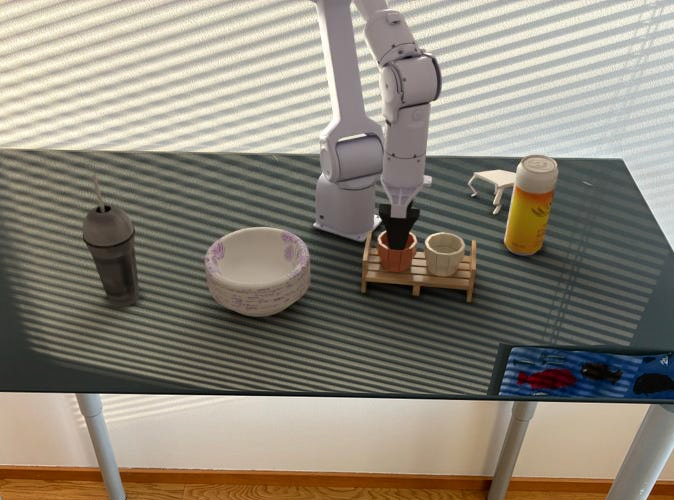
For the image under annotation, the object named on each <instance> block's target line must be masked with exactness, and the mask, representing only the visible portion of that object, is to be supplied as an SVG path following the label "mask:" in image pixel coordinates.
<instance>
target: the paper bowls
mask: <svg viewBox="0 0 674 500" xmlns="http://www.w3.org/2000/svg"><path fill="white" fill-rule="evenodd" d="M203 264H204V271H205V277H206V283H207V287H208V291H209V294H210V295H211V297H212V299H214V302H216V303H217V304H219V305H220V306H222V307H224V308H225V309H228V310H231V311H233V312H236V313H239V314H240V315H244V316H246V317H253V318H254V317H255V318H260V317H261V318H262V317H269V316H272V315H276V314H279V313H281V312H282V311H284V310H286V309H287V308H289V306H291V305H292V304H294V303H296V302H297V301H298V300H299V299H301V298H302V297H303V296H304V295H305V293H306V292H307V291H308V289H309V287H310V284H311V255H310V252H309V248H308V246H307V244H306V243H305V242H304V241H303V239H301V238H300V237H299V236H297V235H296V234H294V233H292V232H290V231H289V230H284V229H282V228H278V227H277V228H275V227H267V226H255V227H247V228H242V229H241V228H240V229H238V230H235V231H232V232H230V233H227V234H226V235H223V236H222V237H220V238H219V239H217V240H215V242H213V244H211V246H209V248H208V249H207V251H206V253H205V256H204V260H203Z"/></svg>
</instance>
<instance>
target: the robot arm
mask: <svg viewBox="0 0 674 500" xmlns="http://www.w3.org/2000/svg"><path fill="white" fill-rule="evenodd" d="M308 1H309V2H311V3H313V4H315V8H316V14H317V19H318V25H319V32H320V38H321V45H322V52H323V58H324V64H325V70H326V76H327V83H328V89H329V96H330V101H331V102H330V103H331V108H332V109H331V110H332V115H333V119H332V120H331V121H330V123H329V124H328V125H327V126H326V127H325V128H324V129H323V130H322V132H321V133H320V135H319V162H320V163H319V164H320V168H321V174H320V176H319V177H318V180H317V183H316V186H315V194H314V195H315V197H314V198H315V201H314V202H315V222H314V223H313V228H315V229H318V230H321V231H324V232H327V233H331V234H334V235H336V236H339V237H342V238H346V239H349V240H353V241H356V242H359V243H364V242H366V240H367V234H368V232H372V233H373V232H374V231H375V230H376V229H377V228H378V227H379V226H380V225H381V223H383V226H384V229H385V231H386V234H387V240H388V245H389V249H390V250H404V248H405V246H406V243H407V240H408V236H409V233H410V232H411V230H412V229H413V226H414V225H415V224H416V223H417V221H418V220H419V218H420V214H421V208H412V207H413V203H414V201H415V197H416V196H417V195H418V194H419V193H420V192H421V191H422V190H423V188H431V187H432V184H433V177H432V176H431V175H425V168H426V159H427V147H428V137H429V128H430V127H429V126H430V118H431V117H430V116H431V108H432V104H431V103H432V102H436V101H437V100H438V99H439V98H440V96H441V93H442V89H443V76H442V70H441V66H440V64H439V62H438V59H437V57H436V56H435V55H434V54H433V53H430V52H428V51H427V50H426V49H425V48H420V46H419V44H418V43H417V41H416V38H415V37H414V35H413V32H412V31H411V29H410V27H409V25H408V23H407V20H406V19H405V16H404V15H403V14H402V13H401V11H399V10H396V9H391V8H390V5H389V2H388V0H308ZM351 4H353V5H354V7H355V8H356V10H357V11H358V13H359V15H360V16H361V18H362V20H363V21H364V23H365V25H364V28H363V30H362V37H363V41H364V43H365V44H366V47H367V49H368V51H369V53H370V56H371V57H372V59H373V61H374V64H375V66H376V68H377V70H378V72H379V74H380V76H378V86H379V87H378V88H379V93H380V97H381V112H382V116H383V117H384V118H385V119H384V120H385V122H384V131H383V128H382V127H383V126H382V125H381V124H380V123H379V122H377V121H376V120H374V119H373V118H371V117H370V116H367V115H366V109H365V102H364V96H363V88H362V80H361V74H360V68H359V67H360V66H359V60H358V53H357V52H358V51H357V45H356V40H355V33H354V31H355V30H354V24H353V18H352V17H353V16H352V11H351ZM359 135H363V136H359ZM354 136H358V137H354ZM349 137H353V138H349ZM344 138H348V139H344ZM341 139H343V140H341ZM378 181H380V185H381V187H382V189H383V190H384V194H386V197H387V199H388V200H389V202H390V203H379V204H378V212H377V213H378V214H375V209H376V208H375V207H376V191H377V190H376V189H377V182H378Z"/></svg>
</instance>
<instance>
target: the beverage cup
mask: <svg viewBox="0 0 674 500" xmlns="http://www.w3.org/2000/svg"><path fill="white" fill-rule="evenodd" d="M91 177H92V181H93V185H94V189H95V193H96V196H97V197H96V198H97V201H98V205H97V206H94V207H93V208H91V210H89V212H88V213H87V214H86V215H85V217H84V219H83V223H82V241H83V242H84V243H85V245H86V248H87V250H88V252H89V253H90V254H91V258H92V260H93V263H94V265H95V268H96V271H97V274H98V276H99V279H100V282H101V285H102V287H103V290H104V293H105V295H106V297H107V299H108V302H109V304H110V305H112V306H114V307H117V308H124V307H125V308H126V307H130V306H131V305H134V304H135V303H137V301H138V300H139V298H140V293H139V292H140V290H139V288H140V285H139V278H138V268H137V257H136V250H135V249H136V248H135V244H136V234H135V233H136V228H135V226H134V224H133V221H132V219H131V218H130V216H129V215H128V214H127V212H125V211H124V210H123V209H122V208H120V207H118V206H116V205H113V204H106V203H105V204H104V202H103V198H102V194H101V189H100V186H99V183H98V179H97V175H96V174H92V176H91Z"/></svg>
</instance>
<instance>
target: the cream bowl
mask: <svg viewBox="0 0 674 500" xmlns="http://www.w3.org/2000/svg"><path fill="white" fill-rule="evenodd" d="M423 252H424V256H425V259H426V266H427V269H428V270H429V271H430V272H431V273H432V274H434V275H436V276H441V277H446V276H450V275H452V274H454V273H456V271H457V270H458V268H459V264H460V262H461V261H462V260H463V258H464V256H465V252H466V243H465V241H464V239H463V237H461V236H459V235H457V234H455V233H451V232H443V231H441V232H436V233H432V234H430V235H428V236H427V238H426V239H425V241H424V246H423Z"/></svg>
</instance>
